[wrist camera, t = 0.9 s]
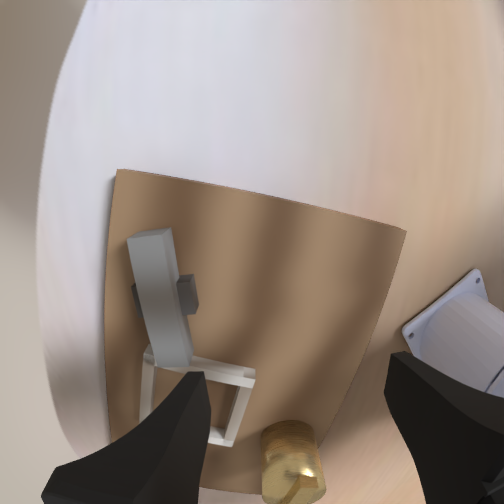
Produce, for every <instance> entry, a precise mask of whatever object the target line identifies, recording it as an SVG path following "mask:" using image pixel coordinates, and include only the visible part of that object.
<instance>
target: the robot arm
mask: <svg viewBox="0 0 504 504" xmlns="http://www.w3.org/2000/svg"><path fill="white" fill-rule="evenodd" d="M477 278H478V279H477ZM476 279H477V281H476ZM411 333H412V335H411V336H409V335H410V334H411ZM402 334H403V336H404V338H405V340H406V342H407V344H408V346H409V348H410V350H411V352H412V354H413V355H411V354H409V353H407V352H405V351H403V352H397V353H392V354H391V357H390V363H389V368H388V374H387V379H386V384H385V389H384V395H385V398H386V402H387V405H388V407H389V410H390V413H391V415H392V417H393V419H394V421H395V423H396V425H397V427H398V429H399V431H400V433H401V435H402V437H403V439H404V441H405V443H406V445H407V447H408V449H409V451H410V453H411V455H412V457H413V460H414V462H415V465H416V468H417V471H418V475H419V478H420V481H421V485H422V488H423V492H424V496H425V501H426V504H504V312H503V311H501V310H500V309H498V308H497V307H495V306H494V305H492V304H491V303H489V300H488V296H487V293H486V289H485V286H484V282H483V279H482V276H481V273H480V271H479V270H478V269H473V270H472V271H471V272H469V273H468V274H467V275H466V276H465V277H464V278H463V279H462V280H460V281H459V282H458V283H457V284H456V285H455V286H453V287H452V288H451V289H450V290H449V291H448V292H446V293H445V294H444V295H443V296H442V297H440V298H439V299H438V300H437V301H435V302H434V303H433V304H432V305H430V306H429V307H428V308H427V309H425V310H424V311H423V312H422V313H420V314H419V315H418V316H416V317H415V318H414V319H412V320H411V321H410V322H408V323H407V324H406V325H405V326H404V327H403V328H402ZM408 336H409V337H408ZM210 425H211V405H210V400H209V395H208V390H207V385H206V380H205V374H204V371H188V372H187V373H186V374H185V375H184V377H183V378H182V379H181V380H180V381H179V383H178V384H177V385H176V386H175V387H174V389H173V390H172V391H171V392H170V393H169V395H168V396H167V397H166V398H165V399H164V400H163V401H162V402H161V403H160V404H159V406H158V407H157V408H156V409H155V410H153V411H152V412H151V413H150V414H149V415H148V416H147V417H146V418H145V419H144V420H143V421H142V422H141V423H140V424H138V425H137V426H136V427H135V428H133V429H132V430H131V431H129V432H128V433H127V434H125V435H124V436H122V437H121V438H119V439H118V440H116V441H114V442H113V443H111V444H110V445H108V446H106V447H104V448H103V449H101V450H99V451H97V452H95V453H93V454H90V455H88V456H86V457H84V458H81V459H79V460H76V461H73V462H70V463H67V464H65V465H62V466H58V467H56V468H55V470H54V471H53V473H52V475H51V477H50V479H49V481H48V483H47V484H46V486H45V488H44V490H43V492H42V495H41V498H42V500H43V502H44V504H198V494H199V484H200V477H201V472H202V468H203V463H204V458H205V454H206V449H207V444H208V439H209V434H210Z"/></svg>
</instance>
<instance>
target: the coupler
mask: <svg viewBox="0 0 504 504" xmlns="http://www.w3.org/2000/svg"><path fill="white" fill-rule="evenodd" d="M260 444H261V472H262V498H263V500H264V502H266V503H267V504H311V503H314V502H316V501H317V500H319V499H320V498H322V497H323V496H324V494H325V493H326V486H325V481H324V476H323V471H322V467H321V462H320V457H319V453H318V448H317V444H316V439H315V434H314V430H313V428H312V427H311V426H310V425H309V424H307V423H305V422H303V421H298V420H284V421H280V422H276V423H274V424H272V425H270V426H268V427H267V428H266V429H265V430H264V431H263V432H262V434H261V437H260Z"/></svg>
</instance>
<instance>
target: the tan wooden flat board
mask: <svg viewBox="0 0 504 504" xmlns="http://www.w3.org/2000/svg"><path fill="white" fill-rule="evenodd" d="M406 232H407V231H405V230H403V229H401V228H398V227H395V226H391V225H387V224H384V223H380V222H376V221H373V220H369V219H365V218H361V217H357V216H353V215H349V214H346V213H342V212H338V211H334V210H329V209H325V208H321V207H317V206H313V205H309V204H304V203H300V202H296V201H291V200H287V199H282V198H278V197H273V196H269V195H264V194H260V193H255V192H250V191H245V190H240V189H235V188H230V187H225V186H220V185H215V184H210V183H204V182H199V181H194V180H188V179H183V178H177V177H171V176H165V175H159V174H153V173H147V172H141V171H134V170H128V169H117V172H116V179H115V185H114V192H113V200H112V208H111V216H110V225H109V236H108V247H107V261H106V278H105V308H104V341H105V371H106V388H107V401H108V412H109V421H110V430H111V438H112V443H113V442H114V441H116V440H118V439H119V438H121V437H122V436H124V435H125V434H127V433H128V432H129V431H131V430H132V429H133V428H135V427H136V426H137V425H138V424H140V423H141V422H142V421H143V420H144V419H145V418H146V417H147V416H148V415H149V414H150V413H151V412H152V411H153V410H155V409H156V408H157V407H158V406H159V404H160V403H161V402H162V401H163V400H164V399H165V398H166V397H167V396H168V395H169V393H170V392H171V391H172V390H173V389H174V387H175V386H176V385H177V384H178V383H179V381H180V380H181V379H182V378H183V377H184V375H185V374H186V373H187V372H188V371H204V374H205V380H206V385H207V390H208V395H209V400H210V405H211V425H210V434H209V439H208V444H207V449H206V454H205V458H204V463H203V468H202V472H201V477H200V484H199V487H203V488H209V489H215V490H222V491H230V492H239V493H248V494H260V495H262V472H261V444H260V437H261V434H262V432H263V431H264V430H265V429H266V428H267V427H268V426H270V425H272V424H274V423H276V422H280V421H284V420H298V421H303V422H305V423H307V424H309V425H310V426H311V427H312V428H313V430H314V434H315V439H316V444H317V448H319V446H320V444H321V442H322V441H323V439H324V437H325V435H326V433H327V431H328V429H329V428H330V426H331V424H332V422H333V420H334V418H335V416H336V414H337V412H338V410H339V408H340V406H341V404H342V402H343V400H344V398H345V396H346V394H347V391H348V389H349V387H350V385H351V383H352V381H353V379H354V376H355V374H356V372H357V370H358V367H359V365H360V363H361V360H362V358H363V356H364V353H365V351H366V349H367V346H368V344H369V341H370V339H371V336H372V334H373V331H374V329H375V326H376V324H377V321H378V318H379V316H380V313H381V310H382V307H383V305H384V302H385V299H386V296H387V293H388V290H389V288H390V285H391V282H392V279H393V275H394V272H395V269H396V266H397V263H398V260H399V256H400V253H401V250H402V246H403V243H404V239H405V236H406Z"/></svg>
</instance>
